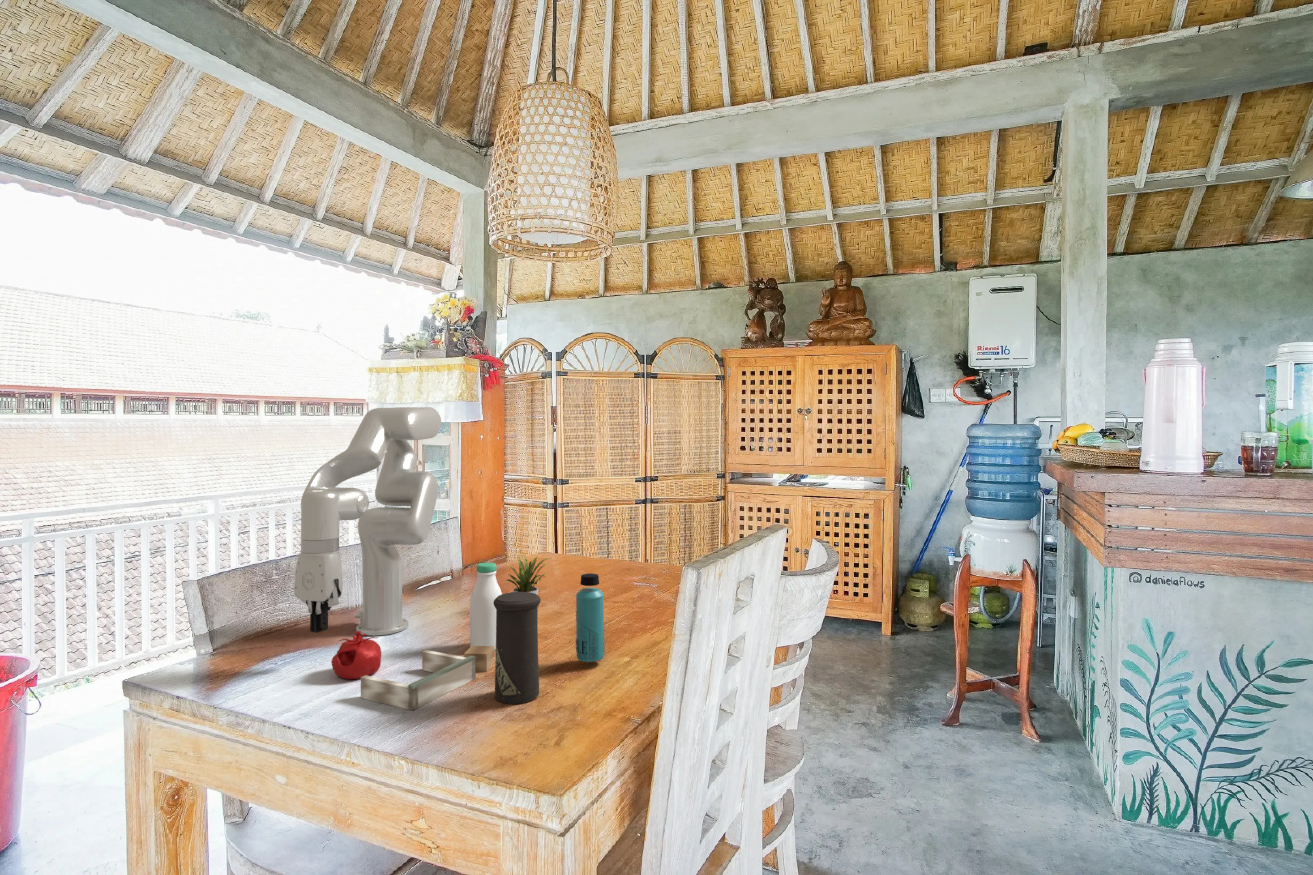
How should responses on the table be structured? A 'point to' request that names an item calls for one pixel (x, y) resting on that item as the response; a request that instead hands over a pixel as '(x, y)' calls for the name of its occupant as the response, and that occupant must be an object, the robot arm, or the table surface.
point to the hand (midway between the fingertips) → (319, 630)
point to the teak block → (482, 657)
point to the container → (516, 647)
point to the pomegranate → (357, 658)
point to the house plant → (526, 576)
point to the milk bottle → (484, 607)
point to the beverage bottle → (590, 620)
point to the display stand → (422, 681)
